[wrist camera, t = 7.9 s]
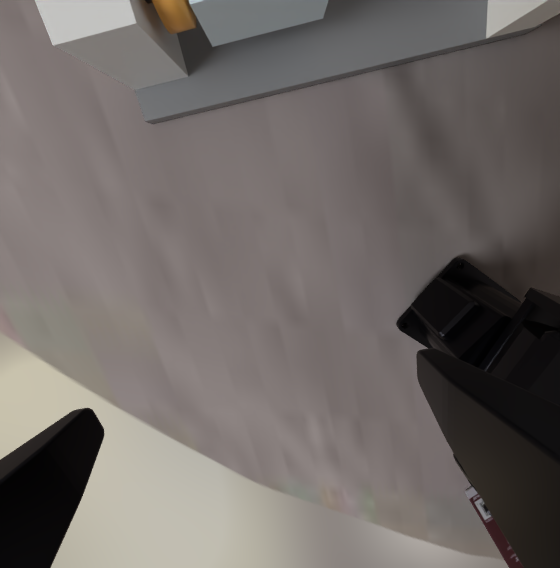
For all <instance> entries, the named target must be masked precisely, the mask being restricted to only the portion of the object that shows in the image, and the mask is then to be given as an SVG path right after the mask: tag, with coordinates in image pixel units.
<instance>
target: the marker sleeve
mask: <svg viewBox="0 0 560 568" xmlns="http://www.w3.org/2000/svg"><path fill="white" fill-rule="evenodd" d="M189 3H190V6H191V7H192V9H193V11H194V13H195V15H196V17H197V19H198V21H199V22H200V24H201V26H202V28H203V30H204V32H205V34H206V35H207V37H208V39H209V41H210V43H211V45H212V47H214V46H218V45H222V44H226V43H230V42H233V41H237V40H241V39H245V38H249V37H253V36H257V35H261V34H265V33H269V32H272V31H276V30H280V29H284V28H288V27H292V26H296V25H300V24H304V23H307V22H311V21H315V20H319V19H323V17H324V14H325V10H326V7H327V4H328V0H189Z"/></svg>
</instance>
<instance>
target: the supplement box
mask: <svg viewBox="0 0 560 568" xmlns="http://www.w3.org/2000/svg"><path fill="white" fill-rule="evenodd" d="M465 493H466V495H467V496H468V498H469V500H470V502H471V503H472V505H473V507H474V508H475V510H476V512H477V513H478V515H479V517H480V519H481V520H482V522H483V524H484V525H485V527H486V529H487V531H488V532H489V534H490V536H491V537H492V539H493V541H494V543H495V544H496V546H497V548H498V549H499V551H500V553H501V555H502V556H503V558H504V560H505V561H506V563H507V565H508V567H509V568H524V567H523V566H522V564H521V562H520V561H519V559H518V557H517V556H516V554H515V552H514V551H513V549H512V548H511V546H510V544H509V543H508V541H507V539H506V538H505V536H504V534H503V533H502V531H501V530H500V528H499V526H498V525H497V523H496V521H495V520H494V518H493V517H492V516H491V515H489V514H488V513H487V512H486V511H485V510H484V508H483V504H484V502H483V500H482V498H481V497H480V495H479V494H478V493H477V492H476V490H475V489H474V488H473V487H470V488H469V489H467V490H466V491H465Z"/></svg>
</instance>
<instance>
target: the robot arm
mask: <svg viewBox="0 0 560 568" xmlns="http://www.w3.org/2000/svg"><path fill="white" fill-rule="evenodd" d="M459 263H461V265H460V267H458V268H457V265H458V264H459ZM524 297H526V299H525V301H524V302H523V303H521V302H520V301H519V300H518V299H517V298H515V297H514V296H513V295H511V294H510V293H509V292H507V291H506V290H505V289H503V288H502V287H501V286H499V285H498V284H497V283H495V282H494V281H493V280H491V279H490V278H489V277H487V276H486V275H485V274H483V273H482V272H481V271H479V270H478V269H477V268H475V267H474V266H473V265H471V264H470V263H469V262H467V261H466V260H464V259H462V258H455V259H454V260H452V261H451V262H450V263H449V265H448V266H447V267H446V268H445V269H444V270H443V271H442V272H441V273H440V274H439V276H438V277H437V278H435V279H434V280H433V281H432V282H431V283H430V284H429V285H428V287H427V288H426V289H425V290H424V291H423V292H422V293H421V294H420V295H419V296H418V298H417V299H416V300H415V301H414V302H413V303H412V305H411V306H410V307H409V308H408V309H407V311H406V312H405V313H404V314H403V315H402V316H401V317H400V318H399V319H398V321H397V323H396V325H397V327H398V328H399V329H400V330H401V331H402V332H404V333H405V334H407V335H408V336H410V337H412V338H413V339H415V340H416V341H418V342H419V343H421V344H423V345H424V346H426V347H427V348H428V349H423V350H419V351H418V352H417V377H418V381H419V384H420V386H421V389H422V391H423V393H424V395H425V397H426V399H427V401H428V403H429V405H430V407H431V409H432V412H433V414H434V416H435V418H436V420H437V422H438V424H439V426H440V428H441V430H442V432H443V434H444V436H445V438H446V440H447V442H448V444H449V446H450V447H451V449H452V451H453V453H454V454H453V456H454V458H455V461H456V463H457V464H458V466H459V467H460V469H461V470H462V472H463V473H464V475H465V476H466V478H467V479H468V481H469V483H470V484H471V485H472V487H473V488H474V489H475V490H476V492H477V493H478V494H479V495H480V497H481V498H482V500H483V502H484V504H483V508H484V510H485V511H486V512H487V513H488V514H489V515H491V516H492V517H493V518H494V520H495V521H496V523H497V525H498V526H499V528H500V530H501V531H502V533H503V534H504V536H505V538H506V539H507V541H508V543H509V544H510V546H511V548H512V549H513V551H514V552H515V554H516V556H517V557H518V559H519V561H520V562H521V564H522V566H523V567H524V568H560V297H559V296H556V295H553V294H550V293H547V292H544V291H540V290H537V289H534V288H530V289H529V290H528V292H527V293H526V295H525V296H524ZM403 323H406V325H404V326H402V324H403ZM103 438H104V429H103V426H102V425H101V423H100V422H99V420H98V418H97V417H96V415H95V413H94V411H93V410H92V409H90V408H84V409H78V410H74V411H72V412H70V413H69V414H68V415H66V416H64V417H63V418H61V419H60V420H59V421H57V422H56V423H54V424H53V425H51V426H50V427H48V428H47V429H45V430H44V431H42V432H41V433H39V434H38V435H36V436H35V437H33V438H32V439H30V440H29V441H27V442H26V443H24V444H23V445H22V446H20V447H19V448H17V449H16V450H14V451H13V452H11V453H10V454H8V455H7V456H5V457H4V458H2V459H1V460H0V568H51V565H52V563H53V561H54V559H55V556H56V554H57V552H58V550H59V548H60V545H61V543H62V541H63V539H64V537H65V534H66V532H67V530H68V528H69V526H70V523H71V521H72V519H73V516H74V514H75V512H76V510H77V508H78V505H79V503H80V501H81V498H82V496H83V493H84V491H85V488H86V485H87V483H88V480H89V477H90V474H91V471H92V468H93V466H94V463H95V460H96V457H97V455H98V452H99V449H100V446H101V444H102V441H103Z"/></svg>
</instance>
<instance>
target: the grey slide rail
mask: <svg viewBox="0 0 560 568" xmlns="http://www.w3.org/2000/svg"><path fill="white" fill-rule="evenodd" d="M35 2H36V4H37V7H38V9H39V12H40V14H41V17H42V19H43V22H44V24H45V27H46V29H47V32H48V34H49V37H50V39H51V42H52V44H53V46H55V47H57V48H59V49H60V50H62V51H64V52H66V53H68V54H69V55H71V56H73V57H75V58H77V59H79V60H80V61H82V62H84V63H86V64H88V65H90V66H91V67H93V68H95V69H97V70H99V71H101V72H102V73H104V74H106V75H108V76H110V77H111V78H113V79H115V80H117V81H119V82H121V83H122V84H124V85H126V86H128V87H130V88H132V89H133V90H135V93H136V96H137V99H138V102H139V105H140V108H141V111H142V114H143V117H144V120H145V122H148V123H151V124H155V123H159V122H163V121H167V120H171V119H176V118H180V117H184V116H188V115H192V114H196V113H200V112H205V111H209V110H213V109H217V108H221V107H225V106H229V105H234V104H238V103H242V102H246V101H250V100H254V99H258V98H263V97H267V96H271V95H275V94H279V93H283V92H287V91H292V90H296V89H300V88H304V87H308V86H312V85H316V84H321V83H325V82H329V81H333V80H337V79H341V78H345V77H350V76H354V75H358V74H362V73H366V72H370V71H374V70H379V69H383V68H387V67H391V66H395V65H399V64H403V63H408V62H412V61H416V60H420V59H424V58H428V57H432V56H437V55H441V54H445V53H449V52H453V51H457V50H461V49H466V48H470V47H474V46H478V45H482V44H486V43H490V42H495V41H499V40H503V39H507V38H511V37H515V36H519V35H524V34H526V33H528V32H530V31H532V30H534V29H536V28H538V27H539V26H541V24H542V23H543V22H545V21H547V20H549V19H550V18H552V17H554V16H556V15H558V14H560V0H328V4H327V7H326V10H325V14H324V17H323V19H319V20H315V21H311V22H307V23H304V24H300V25H296V26H292V27H288V28H284V29H280V30H276V31H272V32H269V33H265V34H261V35H257V36H253V37H249V38H245V39H241V40H237V41H233V42H230V43H226V44H222V45H218V46H214V47H212V45H211V43H210V41H209V39H208V37H207V35H206V34H205V32H204V30H203V28H202V26H201V24H200V22H199V21H198V19H197V17H196V15H195V13H194V11H193V9H192V7H191V6H190V3H189V0H35Z"/></svg>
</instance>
